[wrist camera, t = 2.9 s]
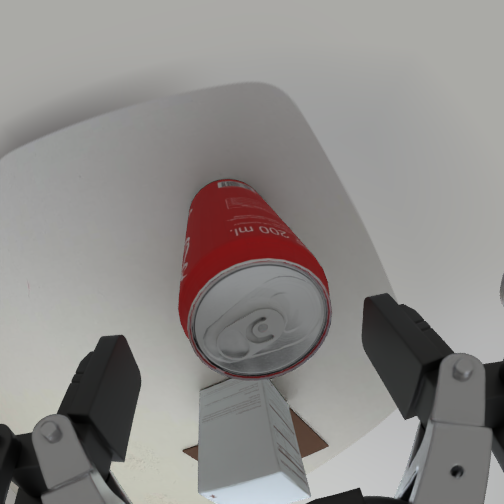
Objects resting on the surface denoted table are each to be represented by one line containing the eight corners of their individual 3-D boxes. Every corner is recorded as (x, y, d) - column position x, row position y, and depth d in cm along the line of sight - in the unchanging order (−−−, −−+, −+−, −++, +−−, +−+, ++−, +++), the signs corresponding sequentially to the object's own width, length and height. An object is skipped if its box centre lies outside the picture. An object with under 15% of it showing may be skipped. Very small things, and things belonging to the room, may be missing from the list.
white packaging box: (232, 424, 33) (239, 517, 21) (198, 389, 30) (194, 493, 19) (289, 403, 32) (313, 498, 21) (261, 363, 30) (281, 473, 18)
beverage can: (181, 189, 23) (122, 277, 9) (265, 167, 23) (330, 223, 9) (202, 260, 25) (187, 405, 11) (281, 239, 25) (347, 367, 11)
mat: (289, 407, 33) (290, 408, 33) (328, 445, 37) (328, 446, 37) (182, 450, 35) (182, 451, 35) (233, 480, 39) (234, 481, 39)
